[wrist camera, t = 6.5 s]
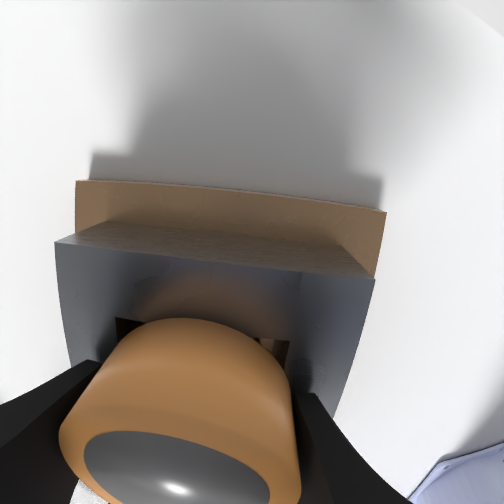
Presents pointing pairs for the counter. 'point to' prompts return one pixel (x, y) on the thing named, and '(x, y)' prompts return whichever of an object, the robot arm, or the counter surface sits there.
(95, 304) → the square frame on board
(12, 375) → the counter surface
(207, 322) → the cap
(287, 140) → the counter surface
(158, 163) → the counter surface
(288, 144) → the counter surface
